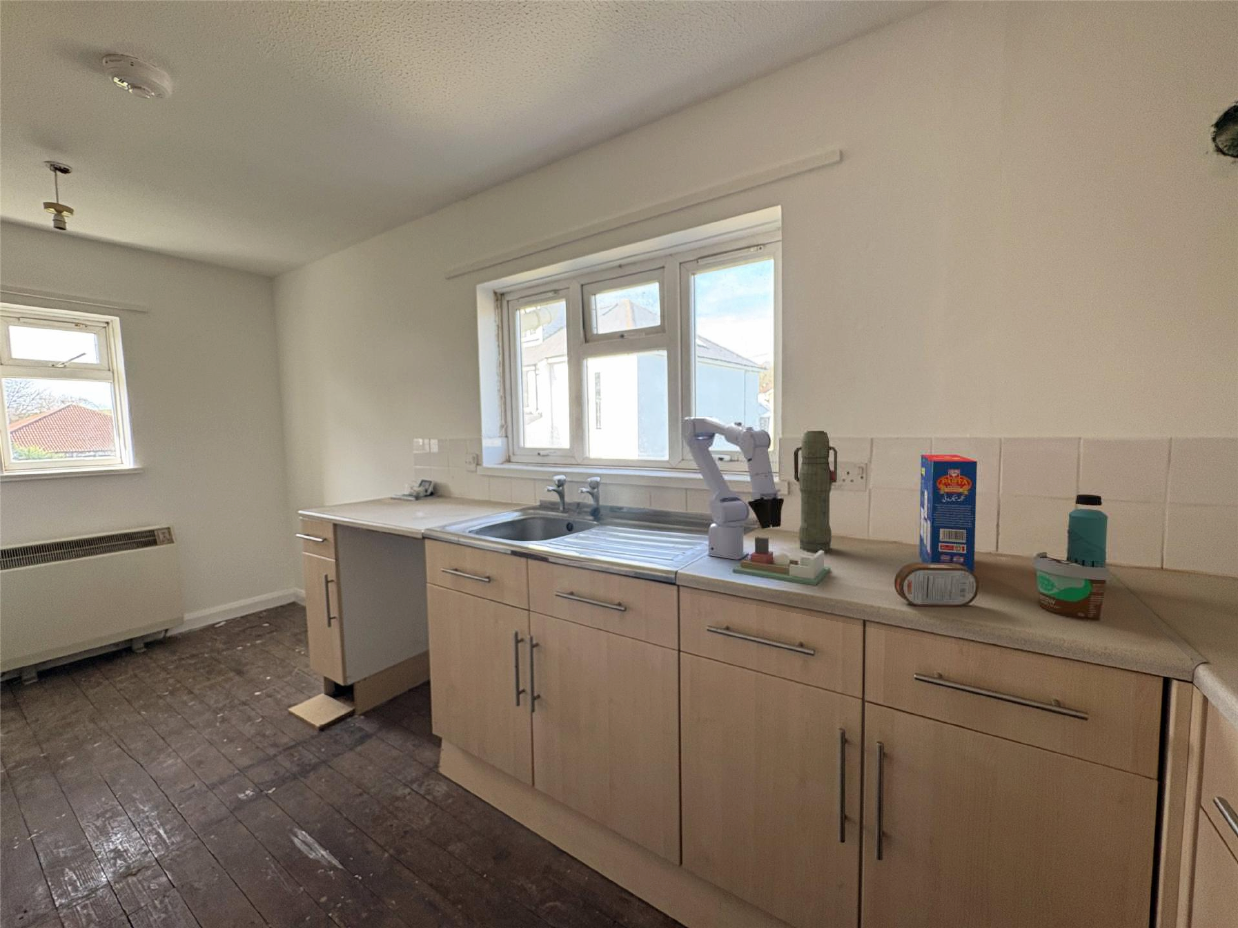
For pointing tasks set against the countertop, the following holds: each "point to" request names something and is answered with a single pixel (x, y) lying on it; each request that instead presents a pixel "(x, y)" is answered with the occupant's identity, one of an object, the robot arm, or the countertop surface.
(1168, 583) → the countertop surface
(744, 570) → the pitch
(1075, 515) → the beverage bottle
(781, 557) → the ball
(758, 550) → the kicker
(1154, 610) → the countertop surface
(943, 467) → the pasta box
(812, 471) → the thermos
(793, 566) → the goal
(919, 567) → the tin
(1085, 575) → the food container
